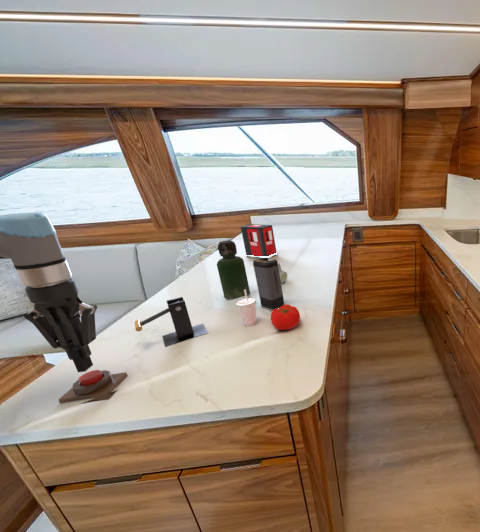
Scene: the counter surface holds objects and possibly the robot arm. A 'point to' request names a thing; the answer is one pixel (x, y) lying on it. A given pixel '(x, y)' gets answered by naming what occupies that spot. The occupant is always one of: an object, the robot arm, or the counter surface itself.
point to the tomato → (285, 317)
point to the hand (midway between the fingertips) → (85, 368)
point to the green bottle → (232, 271)
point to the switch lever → (139, 324)
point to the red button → (90, 377)
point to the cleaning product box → (258, 240)
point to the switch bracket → (181, 324)
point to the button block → (94, 388)
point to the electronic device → (268, 283)
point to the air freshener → (282, 273)
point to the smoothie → (247, 310)
